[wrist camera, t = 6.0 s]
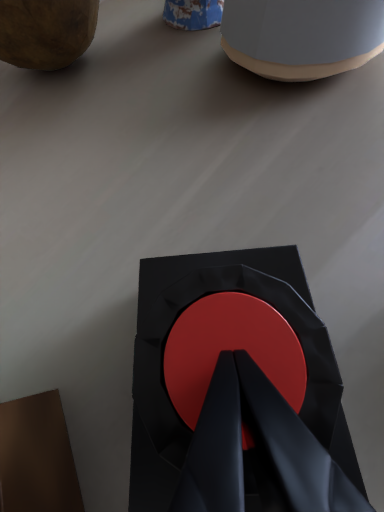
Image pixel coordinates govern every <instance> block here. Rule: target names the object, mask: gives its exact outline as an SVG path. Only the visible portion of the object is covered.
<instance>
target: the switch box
mask: <svg viewBox="0 0 384 512" xmlns="http://www.w3.org/2000/svg"><path fill="white" fill-rule="evenodd" d="M222 292H236V293H243V294H247V295H250V296H253V297H256V298H258V299H260V300H262V301H264V302H265V303H267V304H268V305H270V306H271V307H273V308H274V309H275V310H276V311H277V312H279V313H280V314H281V315H282V317H283V318H284V319H285V320H286V321H287V322H288V324H289V325H290V326H291V328H292V329H293V331H294V333H295V335H296V336H297V338H298V341H299V343H300V345H301V348H302V351H303V354H304V358H305V364H306V375H307V381H306V391H305V396H304V400H303V403H302V406H301V409H300V411H299V413H298V416H299V417H300V418H301V420H302V421H303V422H304V423H305V425H306V426H307V427H308V428H309V430H310V431H311V432H312V433H313V435H314V436H315V437H316V438H317V440H318V441H319V442H320V443H321V445H322V446H323V447H324V448H325V449H326V451H327V452H328V453H329V454H330V456H331V459H333V460H334V461H335V462H336V463H337V464H338V465H339V467H340V468H341V469H342V470H343V472H344V473H345V474H346V475H347V477H348V478H349V479H350V480H351V482H352V483H353V484H354V485H355V486H356V488H357V489H358V490H359V491H360V492H361V494H362V495H363V496H364V497H365V498H366V500H367V501H368V502H369V500H368V497H367V493H366V490H365V486H364V483H363V479H362V475H361V472H360V468H359V465H358V461H357V458H356V454H355V450H354V447H353V443H352V440H351V436H350V433H349V429H348V425H347V422H346V418H345V415H344V411H343V408H342V404H341V397H342V393H343V388H344V386H343V382H342V379H341V375H340V372H339V368H338V365H337V362H336V358H335V355H334V351H333V348H332V345H331V341H330V338H329V334H328V331H327V327H326V326H324V325H325V324H324V322H323V321H322V320H321V319H320V318H319V317H318V316H317V315H316V311H315V308H314V304H313V301H312V297H311V294H310V290H309V286H308V283H307V279H306V276H305V272H304V269H303V265H302V262H301V258H300V254H299V251H298V247H297V245H288V246H277V247H266V248H255V249H244V250H233V251H222V252H211V253H200V254H188V255H177V256H166V257H155V258H144V259H140V271H139V292H138V314H137V334H136V336H135V337H136V338H135V344H134V364H133V384H132V394H133V395H132V398H133V422H132V443H131V465H130V486H129V508H128V512H167V509H168V506H169V504H170V501H171V498H172V495H173V492H174V490H175V487H176V484H177V481H178V478H179V475H180V472H181V469H182V466H183V463H185V457H186V454H187V451H188V448H189V445H190V442H191V439H192V436H193V433H194V431H193V430H192V429H191V428H190V427H189V426H188V425H187V424H186V423H185V422H184V421H183V419H182V418H181V417H180V415H179V414H178V412H177V411H176V409H175V407H174V405H173V403H172V401H171V399H170V396H169V394H168V390H167V387H166V382H165V377H164V352H165V347H166V343H167V339H168V336H169V334H170V332H171V329H172V327H173V326H174V324H175V322H176V320H177V319H178V318H179V317H180V315H181V314H182V313H183V312H184V311H185V310H186V309H187V308H188V307H189V306H191V305H192V304H193V303H194V302H196V301H198V300H200V299H201V298H204V297H206V296H208V295H212V294H216V293H222ZM243 472H244V496H245V512H263V509H262V505H261V501H260V497H259V493H258V489H257V485H256V481H255V477H254V473H253V469H252V465H251V461H250V457H249V453H248V450H243Z"/></svg>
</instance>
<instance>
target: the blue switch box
mask: <svg viewBox="0 0 384 512" xmlns="http://www.w3.org/2000/svg"><path fill="white" fill-rule="evenodd" d="M0 512H85V511H84V506H83V502H82V497H81V493H80V488H79V483H78V479H77V474H76V470H75V465H74V460H73V456H72V451H71V447H70V442H69V438H68V433H67V428H66V424H65V419H64V415H63V410H62V405H61V401H60V396H59V392H58V389H54V390H50V391H46V392H43V393H39V394H35V395H31V396H27V397H23V398H19V399H16V400H12V401H8V402H4V403H0Z"/></svg>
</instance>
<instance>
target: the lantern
mask: <svg viewBox="0 0 384 512" xmlns="http://www.w3.org/2000/svg"><path fill="white" fill-rule="evenodd" d="M223 5H224V0H166V1H165V7H164V13H163V20H164V21H165V23H166V24H167V25H168V26H171V27H173V28H175V29H180V30H190V31H193V30H202V29H209V28H212V27H215V26H218V25H221V18H222V11H223Z"/></svg>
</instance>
